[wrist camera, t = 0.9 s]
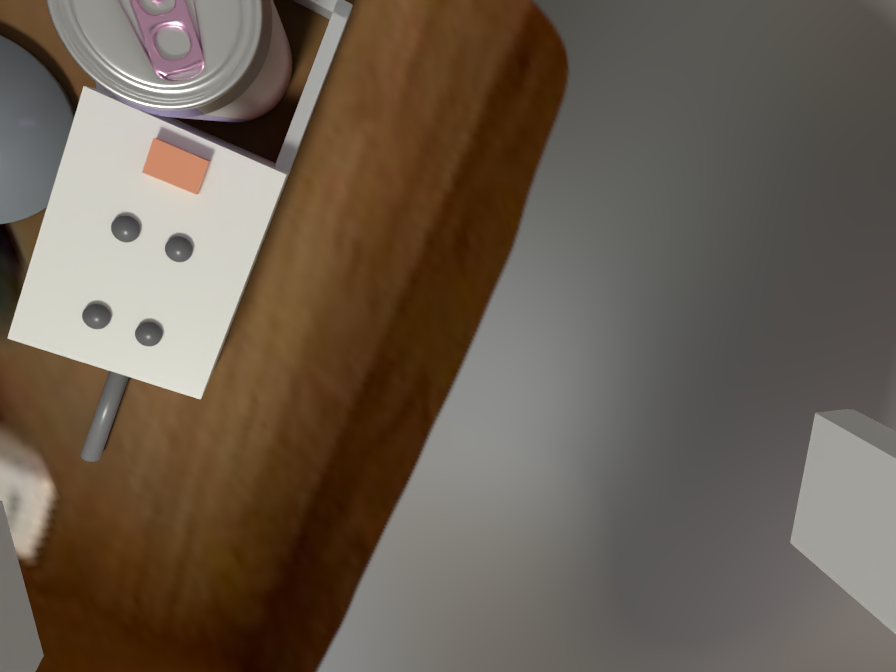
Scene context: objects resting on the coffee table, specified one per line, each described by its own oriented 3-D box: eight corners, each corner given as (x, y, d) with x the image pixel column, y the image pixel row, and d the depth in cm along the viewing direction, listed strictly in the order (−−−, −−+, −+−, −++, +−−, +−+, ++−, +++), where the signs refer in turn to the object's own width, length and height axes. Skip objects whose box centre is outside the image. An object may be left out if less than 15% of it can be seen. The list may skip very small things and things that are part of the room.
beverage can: (192, 135, 32) (91, 138, 18) (147, 6, 30) (-8, -103, 16) (307, 107, 33) (296, 90, 19) (271, -21, 30) (227, -149, 16)
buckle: (173, 474, 37) (154, 519, 33) (7, 428, 35) (-38, 470, 30) (350, 14, 32) (355, -5, 27) (167, -84, 29) (140, -121, 25)
